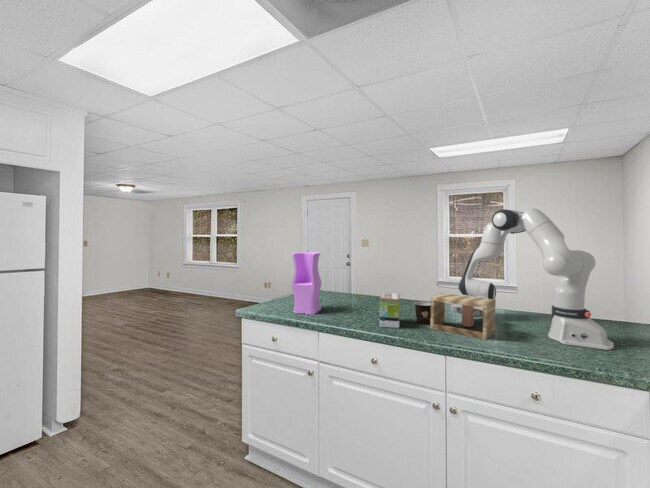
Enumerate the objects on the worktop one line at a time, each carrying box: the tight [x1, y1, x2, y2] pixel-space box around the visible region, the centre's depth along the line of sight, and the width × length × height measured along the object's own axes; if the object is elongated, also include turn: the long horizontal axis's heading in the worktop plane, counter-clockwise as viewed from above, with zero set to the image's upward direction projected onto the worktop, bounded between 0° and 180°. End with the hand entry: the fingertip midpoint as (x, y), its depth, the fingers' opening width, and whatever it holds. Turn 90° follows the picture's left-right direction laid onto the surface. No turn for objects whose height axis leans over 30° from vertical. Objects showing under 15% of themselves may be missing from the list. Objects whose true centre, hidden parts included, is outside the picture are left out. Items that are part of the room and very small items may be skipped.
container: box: [291, 251, 322, 315], centre depth 197 cm, size 14×14×35 cm
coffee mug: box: [414, 301, 431, 325], centre depth 172 cm, size 12×9×10 cm
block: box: [461, 305, 475, 328], centre depth 165 cm, size 4×5×11 cm
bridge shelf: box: [430, 292, 497, 340], centre depth 159 cm, size 26×14×16 cm, turn 49°
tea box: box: [379, 292, 401, 329], centre depth 171 cm, size 15×10×15 cm
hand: (467, 313), depth 164 cm, fingers closed on block, 4 cm apart
